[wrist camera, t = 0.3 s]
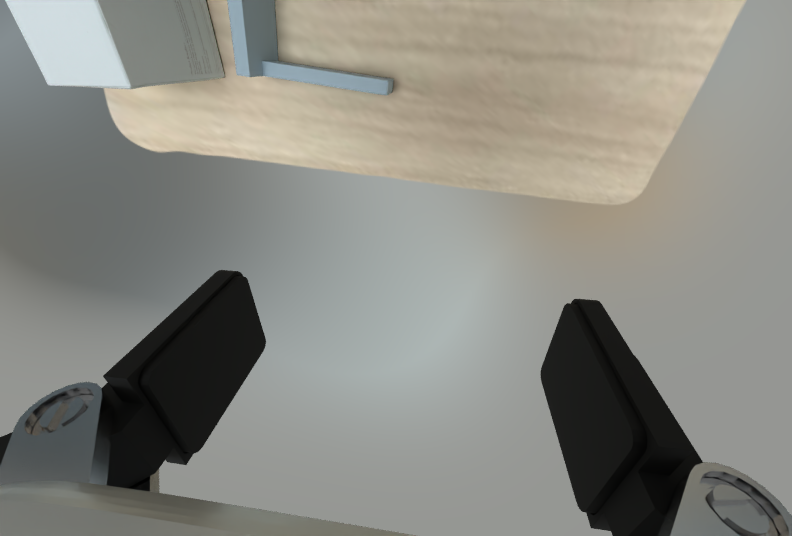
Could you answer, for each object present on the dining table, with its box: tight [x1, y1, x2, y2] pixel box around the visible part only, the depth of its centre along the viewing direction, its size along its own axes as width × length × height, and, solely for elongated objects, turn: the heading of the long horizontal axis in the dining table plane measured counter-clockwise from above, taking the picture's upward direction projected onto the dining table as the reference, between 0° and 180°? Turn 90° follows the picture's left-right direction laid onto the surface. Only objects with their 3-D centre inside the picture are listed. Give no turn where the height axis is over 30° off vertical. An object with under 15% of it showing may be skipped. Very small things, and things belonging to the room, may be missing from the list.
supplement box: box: [5, 0, 225, 89], centre depth 28 cm, size 7×7×13 cm
